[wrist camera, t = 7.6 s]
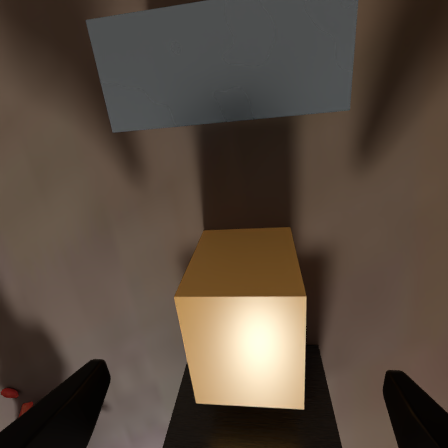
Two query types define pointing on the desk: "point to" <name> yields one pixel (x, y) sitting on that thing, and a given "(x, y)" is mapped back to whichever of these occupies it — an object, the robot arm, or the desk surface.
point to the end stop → (257, 418)
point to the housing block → (245, 319)
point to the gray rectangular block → (225, 61)
